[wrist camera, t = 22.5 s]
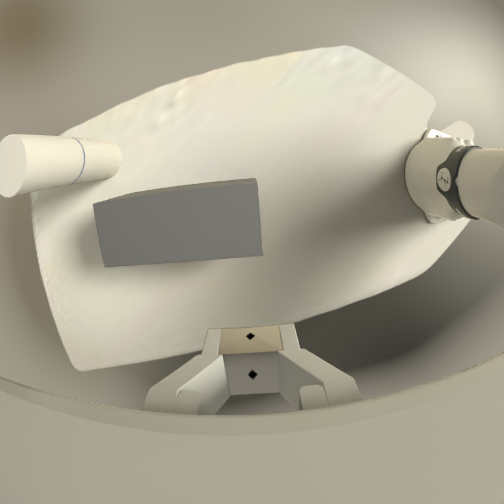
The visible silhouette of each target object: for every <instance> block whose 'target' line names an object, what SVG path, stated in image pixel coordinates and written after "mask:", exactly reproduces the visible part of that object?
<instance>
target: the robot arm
mask: <svg viewBox="0 0 504 504" xmlns="http://www.w3.org/2000/svg"><path fill="white" fill-rule="evenodd" d="M436 136H437V137H436ZM405 180H406V185H407V189H408V192H409V194H410V196H411V198H412V200H413V201H414V202H415V203H416V205H417V206H419V207H420V208H421V209H422V210H423V211H424V213H425V215H426V217H427V219H428V221H429V222H430V223H438V222H441V221H444V220H451V221H456V219H459V218H462V217H466V218H469V219H476V220H477V219H482V220H485V221H488V222H491V223H494V224H496V225H499V226H502V227H504V148H499V149H483V148H481V147H479V146H474V143H473V142H472V141H469V140H464V142H463V139H461V138H456V139H455V138H454V137H451V136H448V135H446V134H444V133H441V132H439V131H437V130H434V129H428V130H427V132H426V133H425V136H424V138H423V140H422V141H421V142H419V143H418V144H417V145H416V146H415V147H414V148H413V149H412V150H411V152H410V154H409V156H408V159H407V162H406V167H405ZM277 392H280V394H281V395H282V396H283V397H284V398H285V399H286V400H287V401H288V402H289V403H290V404H291V405H292V406H293V407H294V409H295V410H296V411H291V412H281V413H267V414H248V415H215V414H216V412H217V411H218V410H219V409H220V407H222V405H223V404H224V403H225V402H226V401H227V399H228V398H229V397H230V395H240V394H256V393H277ZM0 504H504V352H502V353H500V354H498V355H496V356H494V357H492V358H490V359H487V360H485V361H483V362H481V363H478V364H476V365H474V366H472V367H469V368H467V369H464V370H462V371H459V372H457V373H454V374H452V375H449V376H446V377H443V378H440V379H437V380H434V381H432V382H428V383H426V384H423V385H419V386H416V387H413V388H409V389H406V390H402V391H398V392H395V393H391V394H387V395H383V396H379V397H375V398H370V399H366V400H362V397H361V395H360V392H359V390H358V388H357V385H356V383H355V381H354V378H352V377H351V376H349V375H347V374H345V373H344V372H342V371H340V370H339V369H337V368H335V367H334V366H332V365H330V364H329V363H327V362H325V361H323V360H322V359H320V358H319V357H317V356H315V355H314V354H312V353H310V352H308V351H307V350H306V349H300V346H299V343H298V338H297V334H296V330H295V327H294V324H293V323H289V324H281V325H272V326H262V327H242V328H223V329H222V328H213V329H208V330H207V334H206V338H205V342H204V346H203V350H202V354H201V355H197V356H195V357H194V358H193V359H191V360H190V361H189V362H187V363H186V364H184V365H183V366H181V367H180V368H179V369H177V370H176V371H175V372H173V373H172V374H170V375H169V376H167V377H166V378H164V379H163V380H161V381H160V382H158V383H157V384H156V385H154V386H153V387H151V388H150V389H149V392H148V394H147V397H146V400H145V401H144V404H143V407H142V409H141V410H132V409H125V408H119V407H112V406H106V405H100V404H95V403H90V402H86V401H81V400H76V399H72V398H68V397H64V396H60V395H56V394H52V393H49V392H45V391H42V390H38V389H35V388H32V387H29V386H26V385H23V384H20V383H17V382H14V381H11V380H8V379H6V378H3V377H1V376H0Z"/></svg>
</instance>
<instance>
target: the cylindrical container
mask: <svg viewBox="0 0 504 504" xmlns="http://www.w3.org/2000/svg"><path fill="white" fill-rule="evenodd" d="M121 160H122V157H121V151H120V149H119V147H118V146H117V145H116V144H115V143H113V142H110V141H103V140H94V139H84V138H73V137H60V136H44V135H22V134H12V135H8V136H6V137H5V138H4V139H3V140H2V141H1V142H0V194H1V195H2V196H4V197H12V196H17V195H21V194H25V193H30V192H35V191H40V190H44V189H49V188H54V187H59V186H65V185H70V184H76V183H82V182H89V181H95V180H102V179H108V178H110V177H112V176H114V175H115V174H116V173H117V171H118V170H119V168H120V165H121Z"/></svg>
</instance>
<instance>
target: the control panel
mask: <svg viewBox="0 0 504 504" xmlns="http://www.w3.org/2000/svg"><path fill="white" fill-rule="evenodd" d="M93 208H94V214H95V220H96V226H97V231H98V237H99V242H100V247H101V251H102V256H103V261H104V265H105V267H116V266H130V265H144V264H158V263H172V262H186V261H199V260H213V259H226V258H239V257H252V256H263V254H262V240H261V227H260V213H259V200H258V187H257V181H256V178H252V179H240V180H229V181H218V182H209V183H200V184H191V185H183V186H175V187H168V188H161V189H154V190H147V191H141V192H134V193H130V194H126V195H123V196H119V197H115V198H112V199H108V200H105V201H102V202H98V203H95V204H93Z"/></svg>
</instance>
